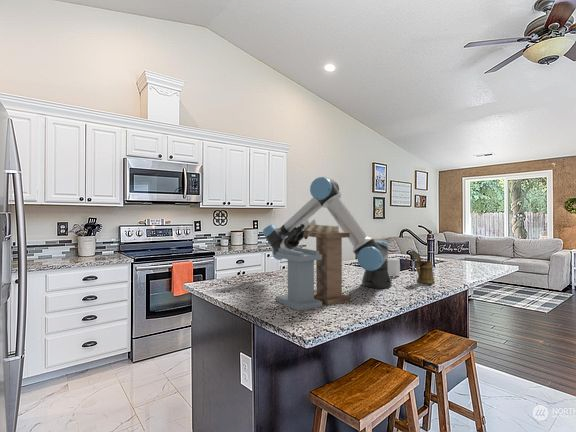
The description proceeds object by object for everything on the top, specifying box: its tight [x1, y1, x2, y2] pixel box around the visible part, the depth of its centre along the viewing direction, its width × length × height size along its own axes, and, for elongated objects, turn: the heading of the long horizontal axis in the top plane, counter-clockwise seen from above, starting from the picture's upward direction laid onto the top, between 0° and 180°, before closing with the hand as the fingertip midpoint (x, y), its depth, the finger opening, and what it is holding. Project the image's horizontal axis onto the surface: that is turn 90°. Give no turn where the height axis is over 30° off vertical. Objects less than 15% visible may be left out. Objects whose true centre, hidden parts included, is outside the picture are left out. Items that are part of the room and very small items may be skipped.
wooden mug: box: [410, 249, 436, 285], centre depth 184 cm, size 9×14×18 cm, turn 108°
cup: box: [388, 257, 401, 277], centre depth 202 cm, size 8×12×10 cm
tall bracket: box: [304, 231, 351, 306], centre depth 151 cm, size 18×12×30 cm, turn 31°
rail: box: [300, 224, 340, 233], centre depth 156 cm, size 26×3×3 cm, turn 31°
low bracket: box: [275, 246, 323, 312], centre depth 143 cm, size 18×12×23 cm, turn 31°
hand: (311, 222), depth 160 cm, fingers closed on rail, 3 cm apart
